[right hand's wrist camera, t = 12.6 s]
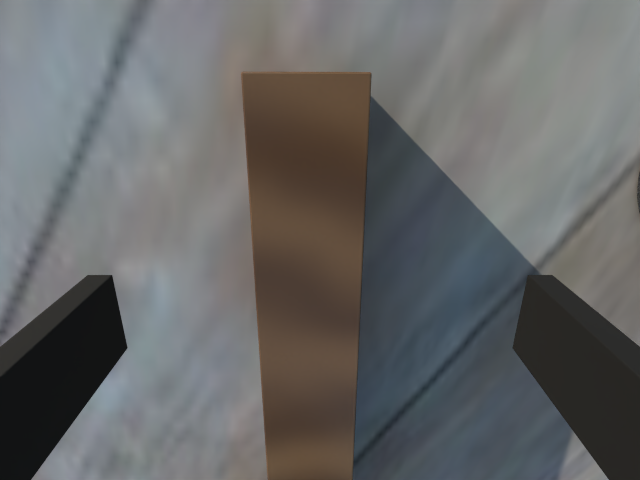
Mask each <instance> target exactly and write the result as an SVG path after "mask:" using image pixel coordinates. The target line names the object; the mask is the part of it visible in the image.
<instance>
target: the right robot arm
mask: <svg viewBox="0 0 640 480" xmlns="http://www.w3.org/2000/svg"><path fill="white" fill-rule="evenodd" d="M637 197H638V207H639V212H640V173H639V179H638V190H637ZM126 349H127V344H126V339H125V334H124V330H123V325H122V320H121V315H120V311H119V306H118V301H117V296H116V292H115V287H114V282H113V277H112V275H87V276H86V277H85V278H84V279H83V280H81V281H80V282H79V283H78V284H76V285H75V286H74V287H73V288H72V289H70V290H69V291H68V292H67V293H65V294H64V295H63V296H62V297H61V298H59V299H58V300H57V301H56V302H54V303H53V304H52V305H51V306H50V307H48V308H47V309H46V310H45V311H43V312H42V313H41V314H40V315H39V316H37V317H36V318H35V319H34V320H32V321H31V322H30V323H29V324H28V325H26V326H25V327H24V328H23V329H22V330H20V331H19V332H18V333H17V334H15V335H14V336H13V337H12V338H11V339H9V340H8V341H7V342H6V343H4V344H3V345H2V346H1V347H0V480H31V479H32V478H33V476H34V475H35V474H36V472H37V471H38V469H39V468H40V467H41V465H42V464H43V463H44V461H45V460H46V458H47V457H48V456H49V454H50V453H51V452H52V450H53V449H54V448H55V446H56V445H57V443H58V442H59V441H60V439H61V438H62V437H63V435H64V434H65V433H66V431H67V430H68V428H69V427H70V426H71V424H72V423H73V422H74V420H75V419H76V418H77V416H78V415H79V413H80V412H81V411H82V409H83V408H84V407H85V405H86V404H87V402H88V401H89V400H90V398H91V397H92V396H93V394H94V393H95V392H96V390H97V389H98V387H99V386H100V385H101V383H102V382H103V381H104V379H105V378H106V377H107V375H108V374H109V372H110V371H111V370H112V368H113V367H114V366H115V364H116V363H117V362H118V360H119V359H120V357H121V356H122V355H123V353H124V352H125V351H126ZM513 349H514V351H515V352H516V353H517V355H518V356H519V357H520V359H521V360H522V362H523V363H524V364H525V366H526V367H527V368H528V370H529V371H530V372H531V374H532V375H533V377H534V378H535V379H536V381H537V382H538V383H539V385H540V386H541V387H542V389H543V390H544V392H545V393H546V394H547V396H548V397H549V398H550V400H551V401H552V402H553V404H554V405H555V407H556V408H557V409H558V411H559V412H560V413H561V415H562V416H563V418H564V419H565V420H566V422H567V423H568V424H569V426H570V427H571V428H572V430H573V431H574V433H575V434H576V435H577V437H578V438H579V439H580V441H581V442H582V443H583V445H584V446H585V448H586V449H587V450H588V452H589V453H590V454H591V456H592V457H593V458H594V460H595V461H596V463H597V464H598V465H599V467H600V468H601V469H602V471H603V472H604V474H605V475H606V476H607V478H608V479H609V480H640V347H639V346H638V345H637V344H636V343H634V342H633V341H632V340H631V339H629V338H628V337H627V336H626V335H625V334H623V333H622V332H621V331H620V330H618V329H617V328H616V327H615V326H614V325H612V324H611V323H610V322H609V321H608V320H606V319H605V318H604V317H603V316H601V315H600V314H599V313H598V312H597V311H595V310H594V309H593V308H592V307H590V306H589V305H588V304H587V303H586V302H584V301H583V300H582V299H581V298H579V297H578V296H577V295H576V294H575V293H573V292H572V291H571V290H570V289H568V288H567V287H566V286H565V285H564V284H562V283H561V282H560V281H559V280H557V279H556V278H555V277H554V276H553V275H528V277H527V282H526V287H525V292H524V296H523V301H522V306H521V311H520V315H519V320H518V325H517V330H516V334H515V339H514V344H513Z"/></svg>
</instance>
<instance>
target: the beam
mask: <svg viewBox="0 0 640 480" xmlns="http://www.w3.org/2000/svg"><path fill="white" fill-rule="evenodd" d="M241 79H242V94H243V109H244V124H245V140H246V155H247V170H248V185H249V201H250V216H251V231H252V246H253V262H254V277H255V292H256V307H257V323H258V338H259V353H260V368H261V384H262V399H263V414H264V429H265V445H266V460H267V475H268V480H353V459H354V438H355V416H356V395H357V373H358V352H359V331H360V309H361V288H362V266H363V245H364V223H365V202H366V180H367V159H368V137H369V116H370V94H371V73H370V72H242V73H241Z"/></svg>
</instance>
